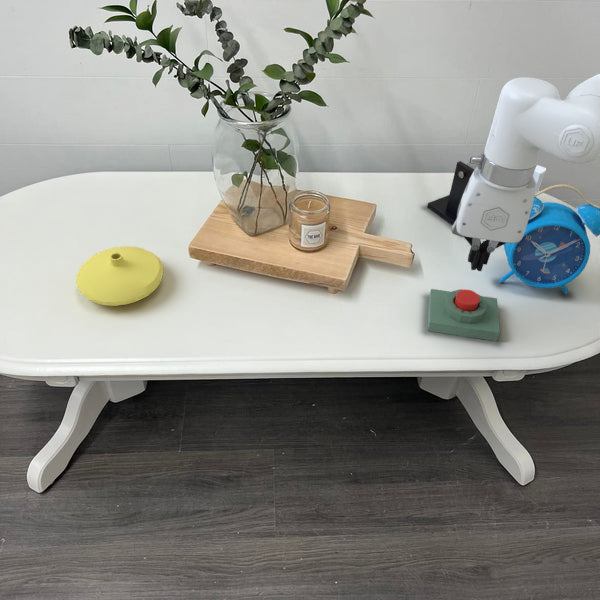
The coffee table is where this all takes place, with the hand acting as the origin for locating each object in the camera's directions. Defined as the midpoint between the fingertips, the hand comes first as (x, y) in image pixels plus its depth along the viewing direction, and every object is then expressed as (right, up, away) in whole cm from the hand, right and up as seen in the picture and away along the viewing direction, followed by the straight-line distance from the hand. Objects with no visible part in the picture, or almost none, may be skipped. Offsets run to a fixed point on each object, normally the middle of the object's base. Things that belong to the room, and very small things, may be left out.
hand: (475, 265), depth 95 cm
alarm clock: (+16, -2, +17) cm, 24 cm away
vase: (-63, -3, +13) cm, 64 cm away
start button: (0, -7, +6) cm, 9 cm away
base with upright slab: (+18, +14, +35) cm, 41 cm away
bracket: (+7, +13, +33) cm, 36 cm away
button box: (0, -9, +8) cm, 12 cm away
